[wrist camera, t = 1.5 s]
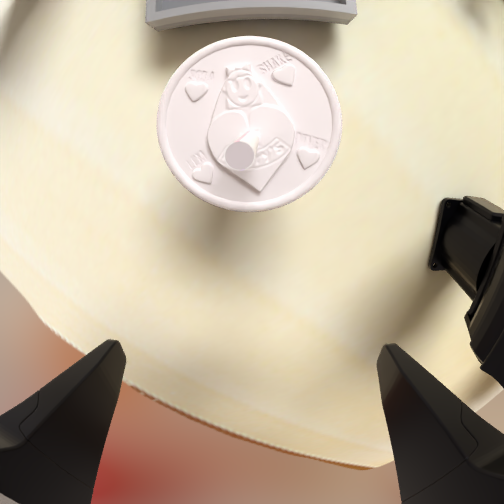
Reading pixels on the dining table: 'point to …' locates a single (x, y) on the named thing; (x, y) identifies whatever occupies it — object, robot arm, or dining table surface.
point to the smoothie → (249, 123)
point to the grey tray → (245, 11)
